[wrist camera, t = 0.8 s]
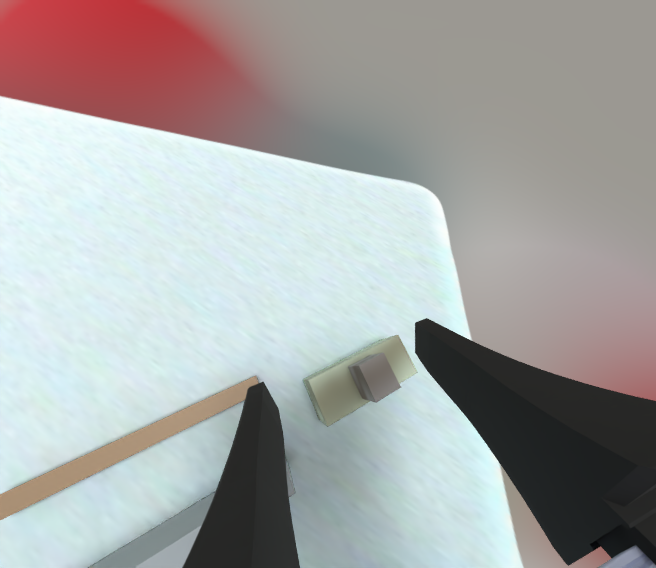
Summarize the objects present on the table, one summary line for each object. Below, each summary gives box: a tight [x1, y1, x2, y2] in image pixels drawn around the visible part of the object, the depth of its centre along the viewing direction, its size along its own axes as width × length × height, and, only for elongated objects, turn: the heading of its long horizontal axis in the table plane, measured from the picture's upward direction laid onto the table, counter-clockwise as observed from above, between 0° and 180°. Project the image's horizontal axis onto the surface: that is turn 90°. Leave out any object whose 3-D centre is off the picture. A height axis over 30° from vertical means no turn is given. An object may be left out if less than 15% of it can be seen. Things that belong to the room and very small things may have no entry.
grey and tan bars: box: [0, 376, 295, 568], centre depth 17 cm, size 9×18×5 cm, turn 115°
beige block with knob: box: [303, 335, 418, 427], centre depth 23 cm, size 4×10×7 cm, turn 115°
